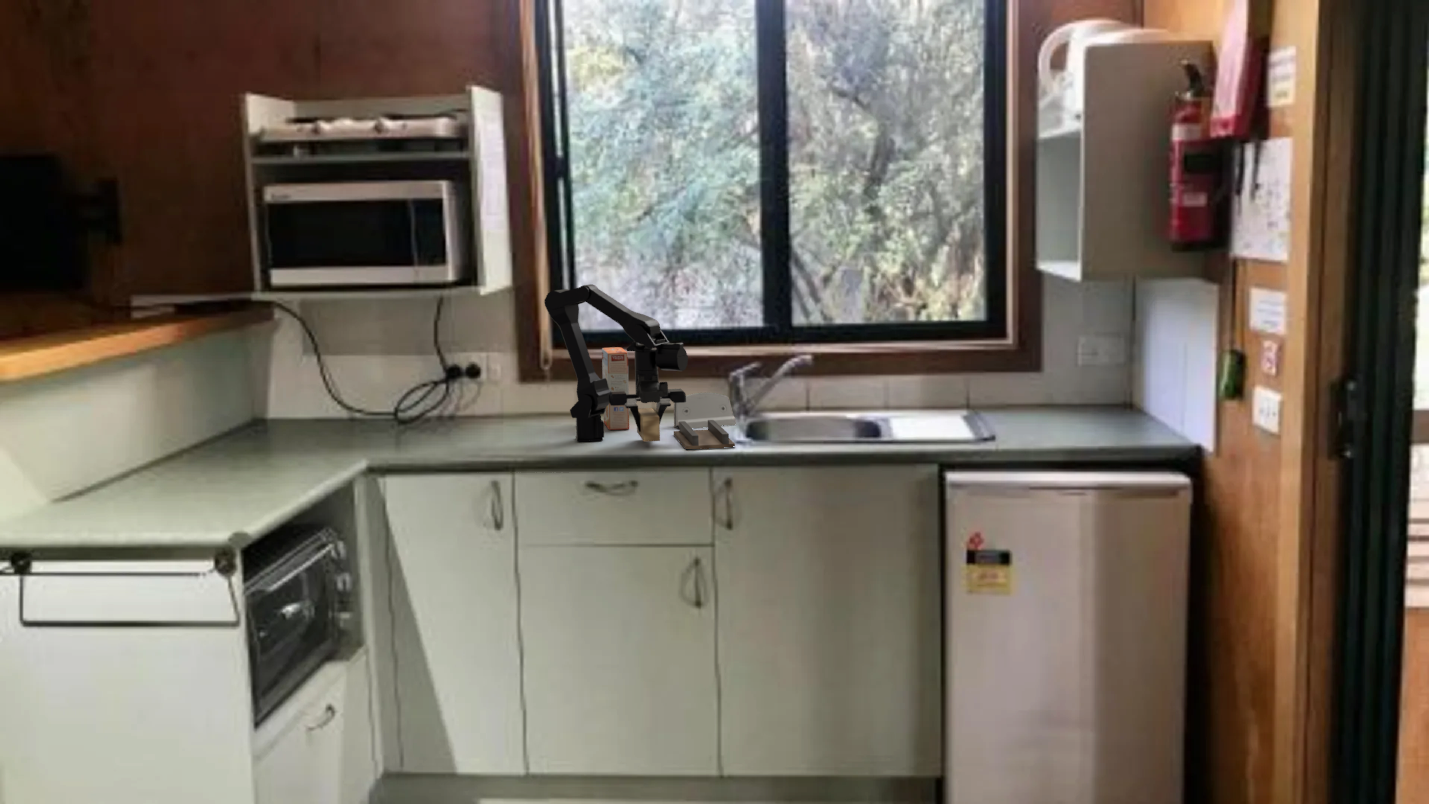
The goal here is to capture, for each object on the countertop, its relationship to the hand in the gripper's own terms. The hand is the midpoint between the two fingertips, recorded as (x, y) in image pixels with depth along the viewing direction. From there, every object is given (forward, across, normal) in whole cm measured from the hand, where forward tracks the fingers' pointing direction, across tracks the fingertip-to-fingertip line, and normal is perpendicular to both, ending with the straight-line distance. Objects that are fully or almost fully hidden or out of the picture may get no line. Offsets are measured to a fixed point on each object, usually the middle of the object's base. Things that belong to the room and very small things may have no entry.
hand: (648, 431), depth 333 cm
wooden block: (+1, 0, 0) cm, 1 cm away
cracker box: (+4, -5, +29) cm, 30 cm away
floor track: (+3, +14, 0) cm, 14 cm away
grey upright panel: (+4, +18, +24) cm, 30 cm away
